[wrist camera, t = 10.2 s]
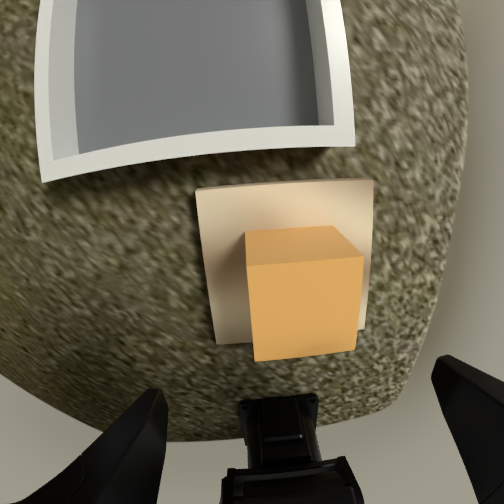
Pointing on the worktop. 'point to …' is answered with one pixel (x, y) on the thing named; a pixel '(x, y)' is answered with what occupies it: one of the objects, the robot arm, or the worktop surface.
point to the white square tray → (186, 80)
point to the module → (303, 291)
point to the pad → (273, 217)
